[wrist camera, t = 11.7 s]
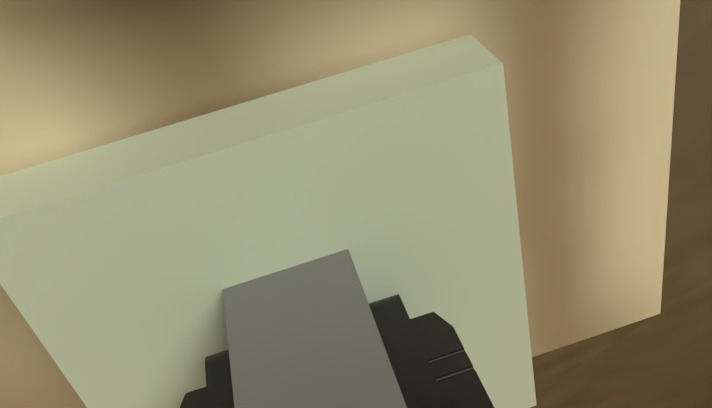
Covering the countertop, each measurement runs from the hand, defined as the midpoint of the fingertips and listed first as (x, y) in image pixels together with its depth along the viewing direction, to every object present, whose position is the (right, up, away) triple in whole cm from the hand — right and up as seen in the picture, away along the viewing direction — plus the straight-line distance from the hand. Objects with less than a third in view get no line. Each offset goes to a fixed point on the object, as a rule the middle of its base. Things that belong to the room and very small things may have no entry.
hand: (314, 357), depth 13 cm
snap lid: (0, +1, +2) cm, 2 cm away
